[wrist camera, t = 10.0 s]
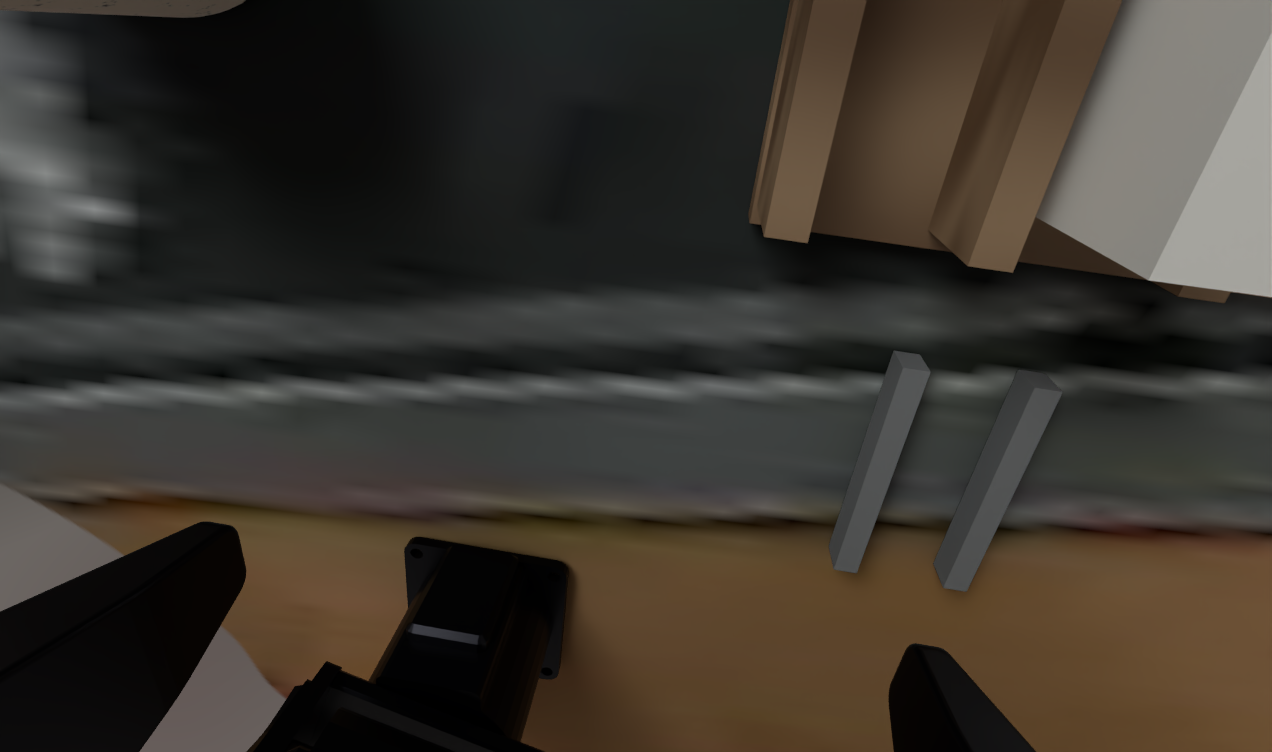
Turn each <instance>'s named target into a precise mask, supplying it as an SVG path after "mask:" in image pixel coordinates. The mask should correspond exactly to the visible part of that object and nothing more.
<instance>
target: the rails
mask: <svg viewBox="0 0 1272 752" xmlns="http://www.w3.org/2000/svg"><path fill="white" fill-rule="evenodd" d="M929 375H930V370H929V369H928V367H927V365H926V364H925V362H924V361H923V359H922V358H921V356H920V355H919V354H913V353H906V352H899V351H893V354H892V357H891V360H890V363H889V366H888V369H887V372H886V375H885V378H884V381H883V384H882V387H881V390H880V393H879V396H878V399H877V402H876V405H875V408H874V411H873V414H872V417H871V420H870V423H869V426H868V429H867V432H866V435H865V438H864V441H863V444H862V447H861V450H860V453H859V456H858V459H857V462H856V465H855V468H854V471H853V474H852V477H851V480H850V483H849V486H848V489H847V492H846V495H845V498H844V502H843V505H842V508H841V511H840V514H839V517H838V520H837V523H836V526H835V529H834V532H833V535H832V538H831V541H830V544H829V550H830V554H831V559H832V564H833V569H834V570H840V571H846V572H852V573H857V571H858V568H859V565H860V563H861V560H862V557H863V555H864V552H865V549H866V546H867V544H868V541H869V538H870V536H871V533H872V530H873V527H874V525H875V522H876V519H877V517H878V514H879V511H880V508H881V506H882V503H883V500H884V497H885V495H886V492H887V489H888V487H889V484H890V481H891V478H892V476H893V473H894V470H895V468H896V465H897V462H898V459H899V457H900V454H901V451H902V448H903V446H904V443H905V440H906V438H907V435H908V432H909V429H910V427H911V424H912V421H913V419H914V416H915V413H916V410H917V408H918V405H919V402H920V400H921V397H922V394H923V391H924V389H925V386H926V383H927V380H928V378H929ZM1062 393H1063V392H1062V391H1061V390H1060V389H1059V388H1058V387H1057V386H1056V385H1055V384H1054V383H1053V381H1052V380H1051V379H1050V378H1049V377H1048V376H1047V375H1046V374H1045V373H1038V372H1032V371H1025V370H1019V369H1018V371H1017V373H1016V376H1015V378H1014V380H1013V382H1012V385H1011V387H1010V389H1009V392H1008V394H1007V396H1006V398H1005V401H1004V403H1003V405H1002V408H1001V410H1000V412H999V414H998V417H997V419H996V421H995V424H994V426H993V428H992V430H991V433H990V435H989V437H988V440H987V442H986V444H985V446H984V449H983V451H982V453H981V456H980V458H979V460H978V462H977V465H976V467H975V469H974V472H973V474H972V476H971V478H970V481H969V483H968V485H967V488H966V490H965V492H964V494H963V497H962V499H961V501H960V504H959V506H958V508H957V510H956V513H955V515H954V517H953V520H952V522H951V524H950V526H949V529H948V531H947V533H946V536H945V538H944V540H943V542H942V545H941V547H940V549H939V552H938V554H937V556H936V558H935V561H934V563H933V564H934V566H935V569H936V571H937V574H938V576H939V579H940V581H941V584H942V586H943V588H947V589H953V590H959V591H965V592H967V590H968V588H969V586H970V583H971V581H972V579H973V577H974V575H975V573H976V571H977V569H978V567H979V565H980V563H981V561H982V559H983V557H984V554H985V552H986V550H987V548H988V546H989V544H990V542H991V540H992V538H993V536H994V534H995V532H996V530H997V527H998V525H999V523H1000V521H1001V519H1002V517H1003V515H1004V513H1005V511H1006V509H1007V507H1008V505H1009V503H1010V501H1011V498H1012V496H1013V494H1014V492H1015V490H1016V488H1017V486H1018V484H1019V482H1020V480H1021V478H1022V476H1023V474H1024V472H1025V469H1026V467H1027V465H1028V463H1029V461H1030V459H1031V457H1032V455H1033V453H1034V451H1035V449H1036V447H1037V445H1038V442H1039V440H1040V438H1041V436H1042V434H1043V432H1044V430H1045V428H1046V426H1047V424H1048V422H1049V420H1050V418H1051V416H1052V413H1053V411H1054V409H1055V407H1056V405H1057V403H1058V401H1059V399H1060V397H1061V395H1062Z"/></svg>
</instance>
